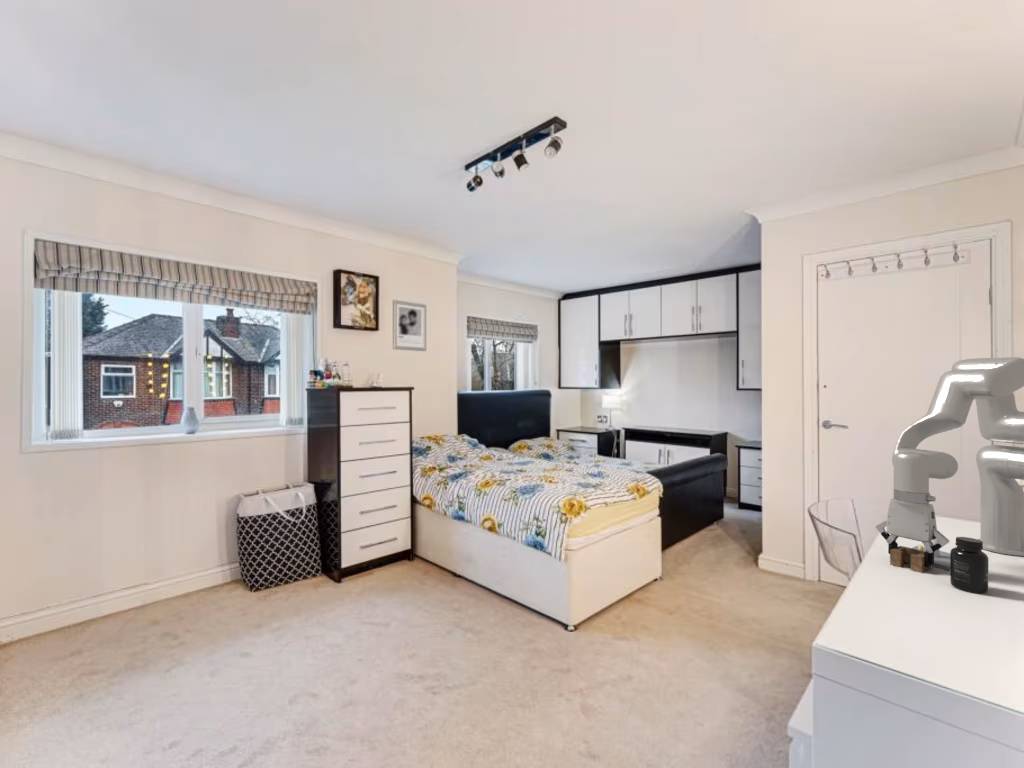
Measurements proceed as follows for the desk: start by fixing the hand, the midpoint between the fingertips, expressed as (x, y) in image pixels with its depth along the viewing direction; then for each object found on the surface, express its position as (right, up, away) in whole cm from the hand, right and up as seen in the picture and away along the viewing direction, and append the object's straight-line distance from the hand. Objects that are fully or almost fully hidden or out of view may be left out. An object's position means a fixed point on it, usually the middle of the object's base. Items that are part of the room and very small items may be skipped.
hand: (910, 561), depth 133 cm
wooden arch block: (0, -1, 0) cm, 1 cm away
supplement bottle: (+2, -2, -15) cm, 15 cm away
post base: (+11, -1, +5) cm, 12 cm away
